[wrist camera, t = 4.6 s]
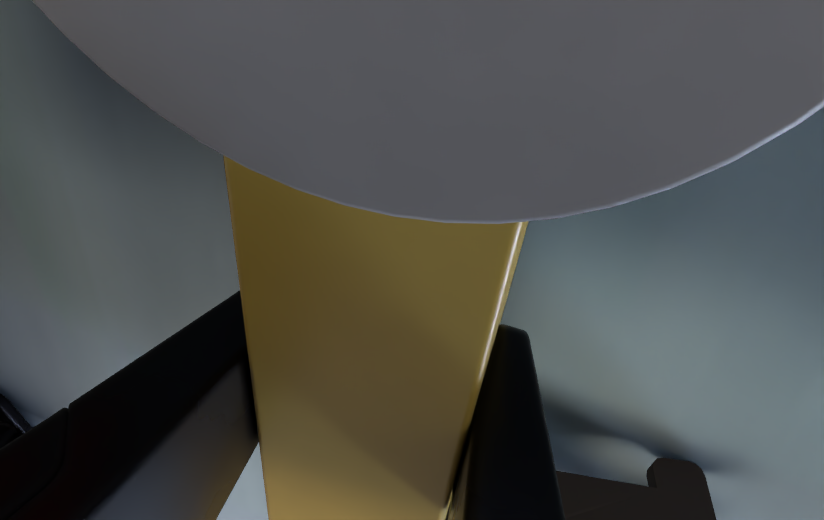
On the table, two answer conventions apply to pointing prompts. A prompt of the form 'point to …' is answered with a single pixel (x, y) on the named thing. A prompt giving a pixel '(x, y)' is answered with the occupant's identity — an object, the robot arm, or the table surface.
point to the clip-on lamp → (639, 495)
